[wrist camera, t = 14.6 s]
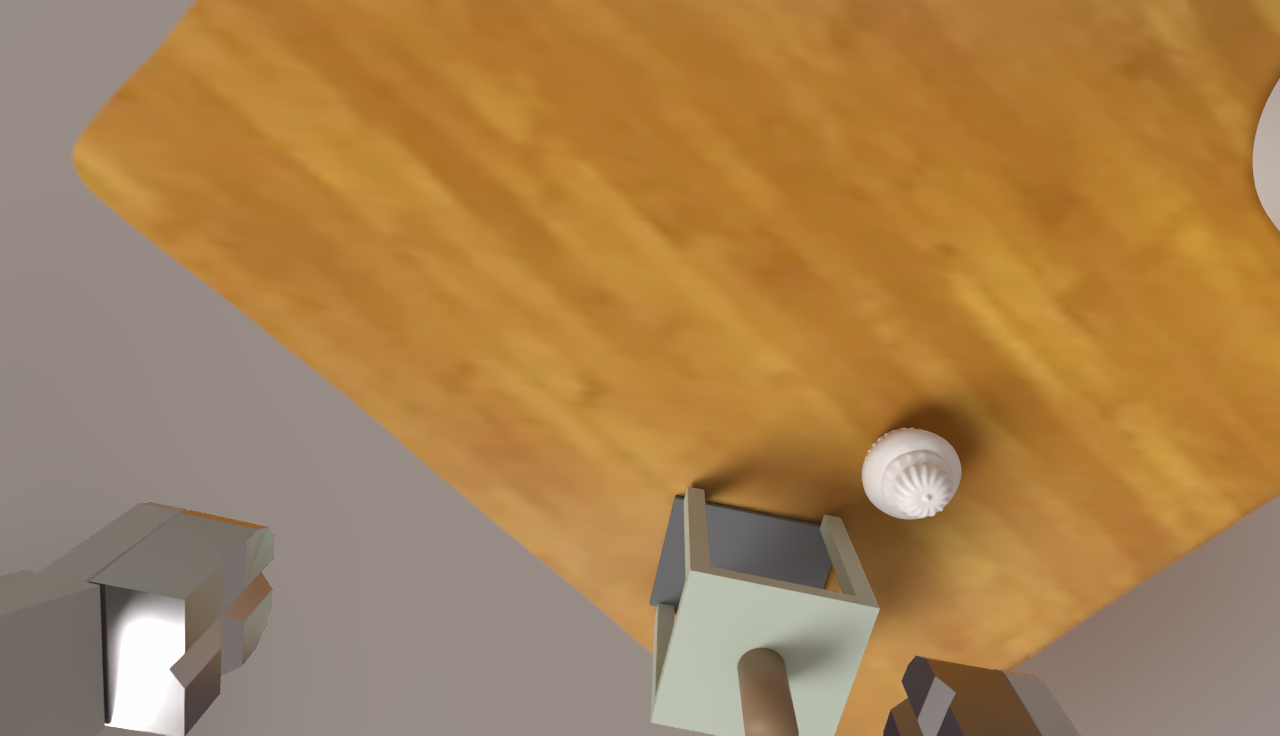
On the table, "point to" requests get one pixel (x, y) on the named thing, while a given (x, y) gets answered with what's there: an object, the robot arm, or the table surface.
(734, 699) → the cover
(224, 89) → the table surface
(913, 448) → the muffin
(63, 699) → the robot arm
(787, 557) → the mat
